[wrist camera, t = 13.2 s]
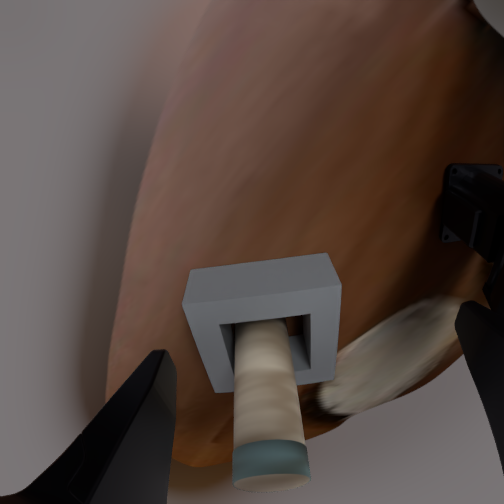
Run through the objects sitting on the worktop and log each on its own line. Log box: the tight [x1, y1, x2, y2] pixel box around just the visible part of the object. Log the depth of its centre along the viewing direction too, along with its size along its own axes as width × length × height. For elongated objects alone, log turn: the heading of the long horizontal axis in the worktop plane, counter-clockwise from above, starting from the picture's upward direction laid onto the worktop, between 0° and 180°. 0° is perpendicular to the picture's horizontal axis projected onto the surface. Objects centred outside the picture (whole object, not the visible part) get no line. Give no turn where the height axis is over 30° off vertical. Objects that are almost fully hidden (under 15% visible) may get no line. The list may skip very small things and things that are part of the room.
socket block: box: [182, 253, 342, 393], centre depth 22 cm, size 10×10×4 cm
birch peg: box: [233, 317, 311, 492], centre depth 18 cm, size 4×4×14 cm
